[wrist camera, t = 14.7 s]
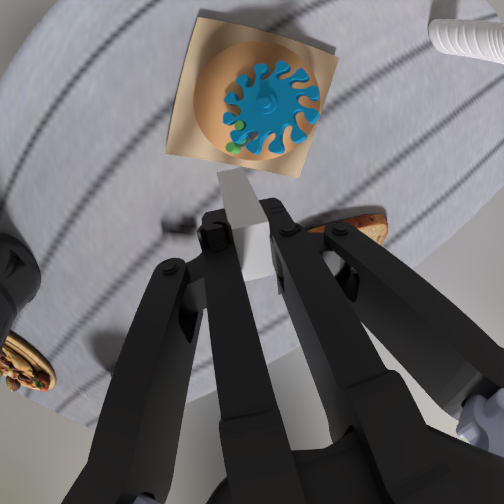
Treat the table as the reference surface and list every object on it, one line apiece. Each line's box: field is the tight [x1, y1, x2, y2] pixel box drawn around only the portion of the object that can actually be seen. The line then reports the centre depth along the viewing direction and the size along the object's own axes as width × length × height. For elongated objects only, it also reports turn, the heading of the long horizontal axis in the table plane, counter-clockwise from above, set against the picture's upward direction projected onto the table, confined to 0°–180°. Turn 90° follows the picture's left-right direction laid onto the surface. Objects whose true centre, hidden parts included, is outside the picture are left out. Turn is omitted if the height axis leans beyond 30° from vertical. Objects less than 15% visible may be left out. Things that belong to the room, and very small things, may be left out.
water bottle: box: [428, 19, 504, 64], centre depth 15 cm, size 9×6×25 cm
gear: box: [223, 60, 320, 155], centre depth 26 cm, size 11×6×10 cm
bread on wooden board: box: [165, 17, 339, 178], centre depth 29 cm, size 18×18×6 cm
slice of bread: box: [307, 214, 388, 269], centre depth 46 cm, size 18×18×4 cm
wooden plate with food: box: [0, 331, 56, 392], centre depth 50 cm, size 32×32×8 cm
